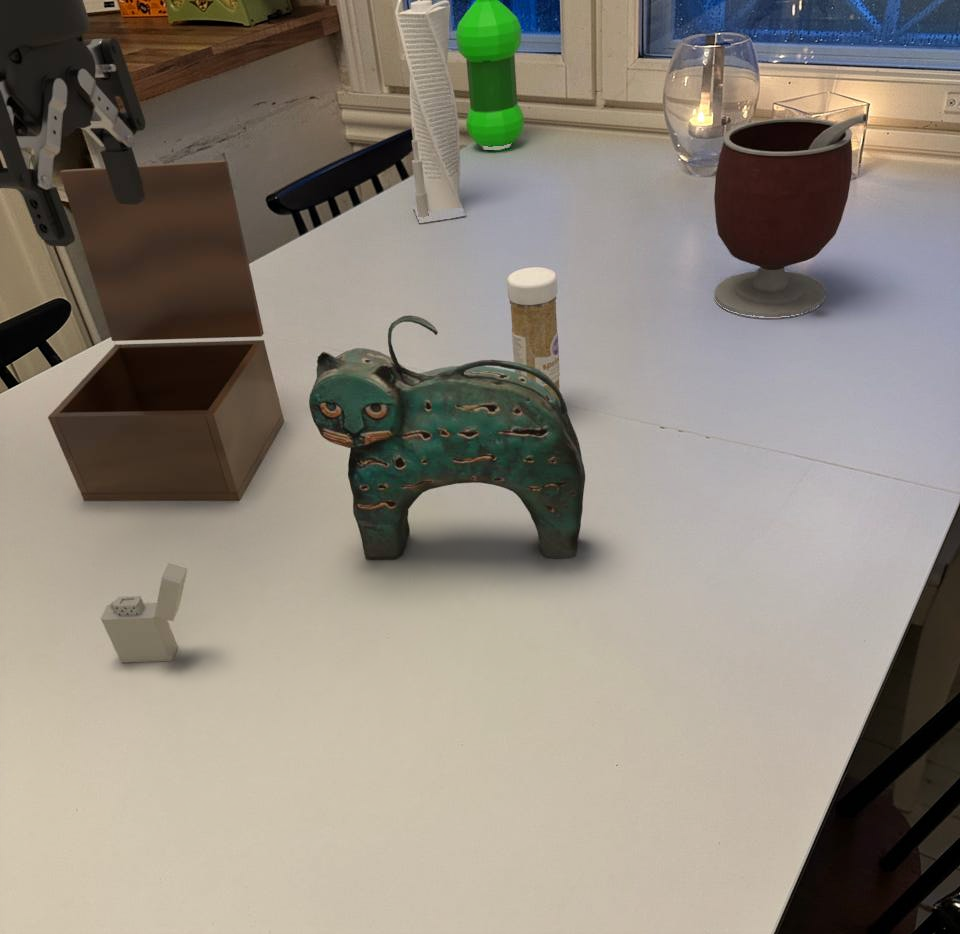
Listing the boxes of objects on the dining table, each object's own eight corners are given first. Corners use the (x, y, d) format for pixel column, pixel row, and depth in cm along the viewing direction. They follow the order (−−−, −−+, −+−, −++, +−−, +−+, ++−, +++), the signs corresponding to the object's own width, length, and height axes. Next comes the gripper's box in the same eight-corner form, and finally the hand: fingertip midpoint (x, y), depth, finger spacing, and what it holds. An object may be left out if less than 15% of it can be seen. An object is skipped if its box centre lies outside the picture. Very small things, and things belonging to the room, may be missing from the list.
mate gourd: (682, 302, 112) (692, 111, 98) (755, 264, 118) (774, 81, 105) (796, 337, 102) (824, 132, 89) (869, 294, 109) (905, 97, 95)
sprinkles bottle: (561, 419, 94) (555, 283, 85) (514, 420, 94) (504, 286, 85) (562, 396, 97) (557, 263, 88) (517, 398, 98) (508, 266, 89)
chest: (239, 500, 88) (213, 414, 82) (83, 500, 91) (47, 417, 85) (284, 420, 99) (264, 339, 93) (143, 423, 101) (115, 344, 95)
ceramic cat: (342, 567, 79) (288, 335, 66) (360, 522, 84) (313, 297, 70) (584, 570, 76) (578, 327, 62) (588, 523, 80) (584, 287, 67)
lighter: (119, 662, 72) (80, 579, 67) (127, 647, 74) (89, 564, 68) (210, 659, 72) (178, 575, 66) (216, 644, 73) (185, 560, 68)
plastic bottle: (459, 156, 164) (442, -19, 148) (479, 138, 172) (465, -30, 155) (515, 156, 161) (504, -23, 145) (533, 137, 169) (524, -34, 152)
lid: (223, 161, 83) (226, 159, 84) (58, 171, 86) (63, 169, 86) (261, 336, 92) (264, 333, 93) (111, 341, 95) (115, 338, 95)
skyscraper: (411, 206, 146) (383, -12, 128) (463, 198, 147) (443, -20, 129) (419, 224, 140) (390, -4, 122) (473, 215, 141) (452, -12, 122)
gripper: (31, -60, 65) (114, 190, 76) (-130, -23, 56) (-9, 258, 66) (121, -69, 63) (193, 191, 74) (-31, -32, 53) (78, 261, 64)
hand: (98, 222), depth 70 cm, fingers open, 8 cm apart
